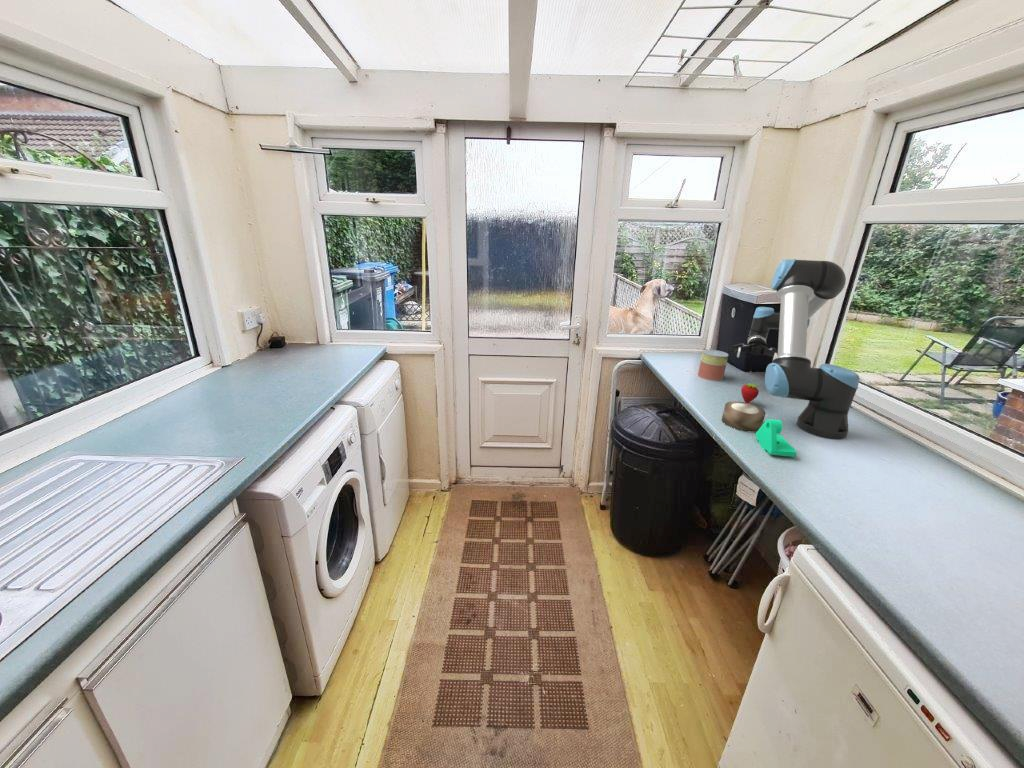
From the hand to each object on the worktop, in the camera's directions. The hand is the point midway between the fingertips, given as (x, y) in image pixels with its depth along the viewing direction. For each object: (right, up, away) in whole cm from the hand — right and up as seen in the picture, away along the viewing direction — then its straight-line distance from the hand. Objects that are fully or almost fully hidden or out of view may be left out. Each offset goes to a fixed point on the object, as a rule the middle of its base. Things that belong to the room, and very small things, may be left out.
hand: (756, 357), depth 173 cm
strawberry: (-5, -19, -2) cm, 20 cm away
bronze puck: (-18, -26, -20) cm, 37 cm away
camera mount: (-16, -33, -37) cm, 52 cm away
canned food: (-6, -8, +27) cm, 29 cm away
